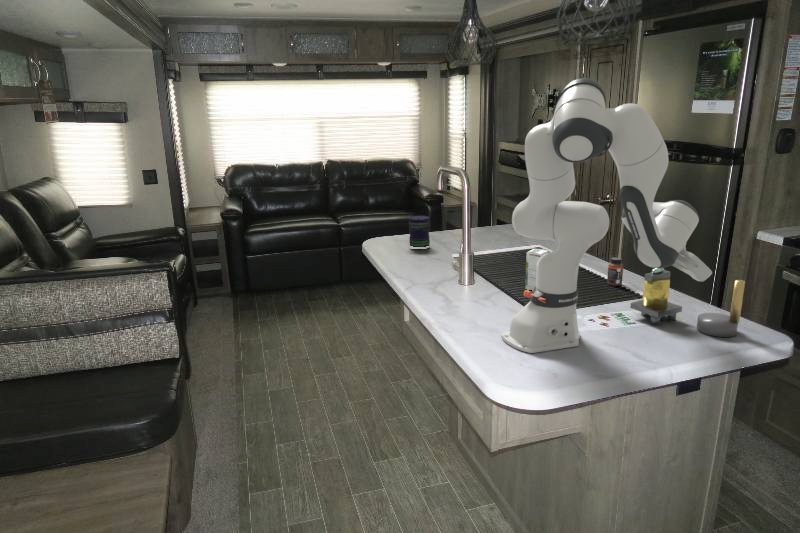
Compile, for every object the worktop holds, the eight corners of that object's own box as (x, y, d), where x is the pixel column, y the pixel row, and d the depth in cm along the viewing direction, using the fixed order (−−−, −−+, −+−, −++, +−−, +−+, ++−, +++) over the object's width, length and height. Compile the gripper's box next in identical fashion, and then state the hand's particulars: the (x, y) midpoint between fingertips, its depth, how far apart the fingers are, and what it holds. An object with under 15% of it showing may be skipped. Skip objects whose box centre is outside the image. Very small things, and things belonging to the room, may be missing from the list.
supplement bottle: (622, 286, 195) (624, 260, 193) (607, 285, 197) (608, 259, 195) (621, 282, 200) (623, 257, 197) (607, 281, 202) (608, 256, 199)
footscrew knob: (743, 337, 149) (750, 284, 145) (703, 336, 151) (710, 284, 147) (728, 323, 159) (735, 273, 155) (691, 322, 160) (697, 273, 156)
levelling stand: (657, 327, 159) (662, 275, 154) (629, 316, 167) (633, 267, 163) (680, 321, 163) (686, 270, 158) (652, 311, 172) (657, 262, 167)
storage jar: (410, 245, 268) (409, 215, 264) (430, 245, 266) (430, 215, 262) (408, 250, 258) (407, 219, 254) (428, 250, 257) (428, 219, 253)
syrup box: (531, 286, 200) (533, 247, 196) (546, 288, 196) (548, 250, 192) (524, 290, 196) (525, 251, 192) (539, 293, 192) (541, 253, 188)
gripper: (697, 247, 137) (730, 282, 140) (658, 229, 156) (688, 260, 159) (678, 264, 138) (711, 299, 141) (641, 245, 157) (671, 275, 160)
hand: (698, 278), depth 150 cm, fingers closed
